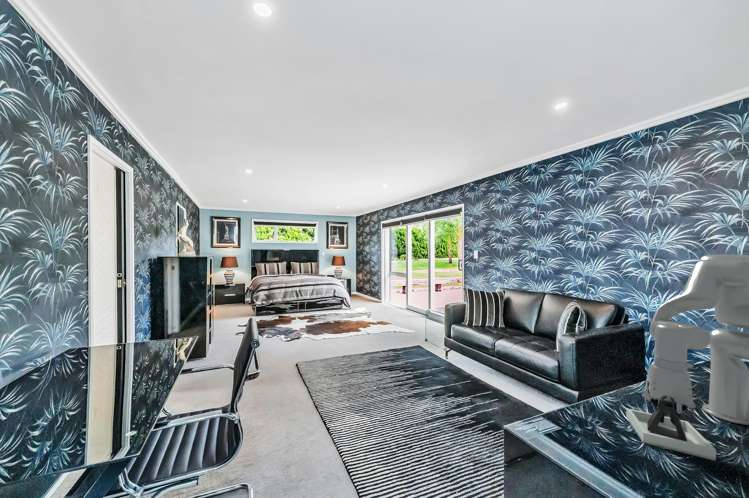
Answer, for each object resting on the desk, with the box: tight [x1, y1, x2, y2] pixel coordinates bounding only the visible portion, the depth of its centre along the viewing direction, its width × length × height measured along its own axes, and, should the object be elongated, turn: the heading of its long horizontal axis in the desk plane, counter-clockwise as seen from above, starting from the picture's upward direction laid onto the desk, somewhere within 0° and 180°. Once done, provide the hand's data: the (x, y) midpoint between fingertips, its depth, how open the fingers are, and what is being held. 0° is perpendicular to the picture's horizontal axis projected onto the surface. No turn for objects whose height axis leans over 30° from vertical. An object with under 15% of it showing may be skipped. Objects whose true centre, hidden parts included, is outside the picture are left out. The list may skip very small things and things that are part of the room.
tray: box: [625, 408, 717, 461], centre depth 98 cm, size 16×17×3 cm
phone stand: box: [647, 397, 687, 442], centre depth 98 cm, size 9×6×12 cm, turn 48°
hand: (667, 421), depth 98 cm, fingers closed on phone stand, 2 cm apart
